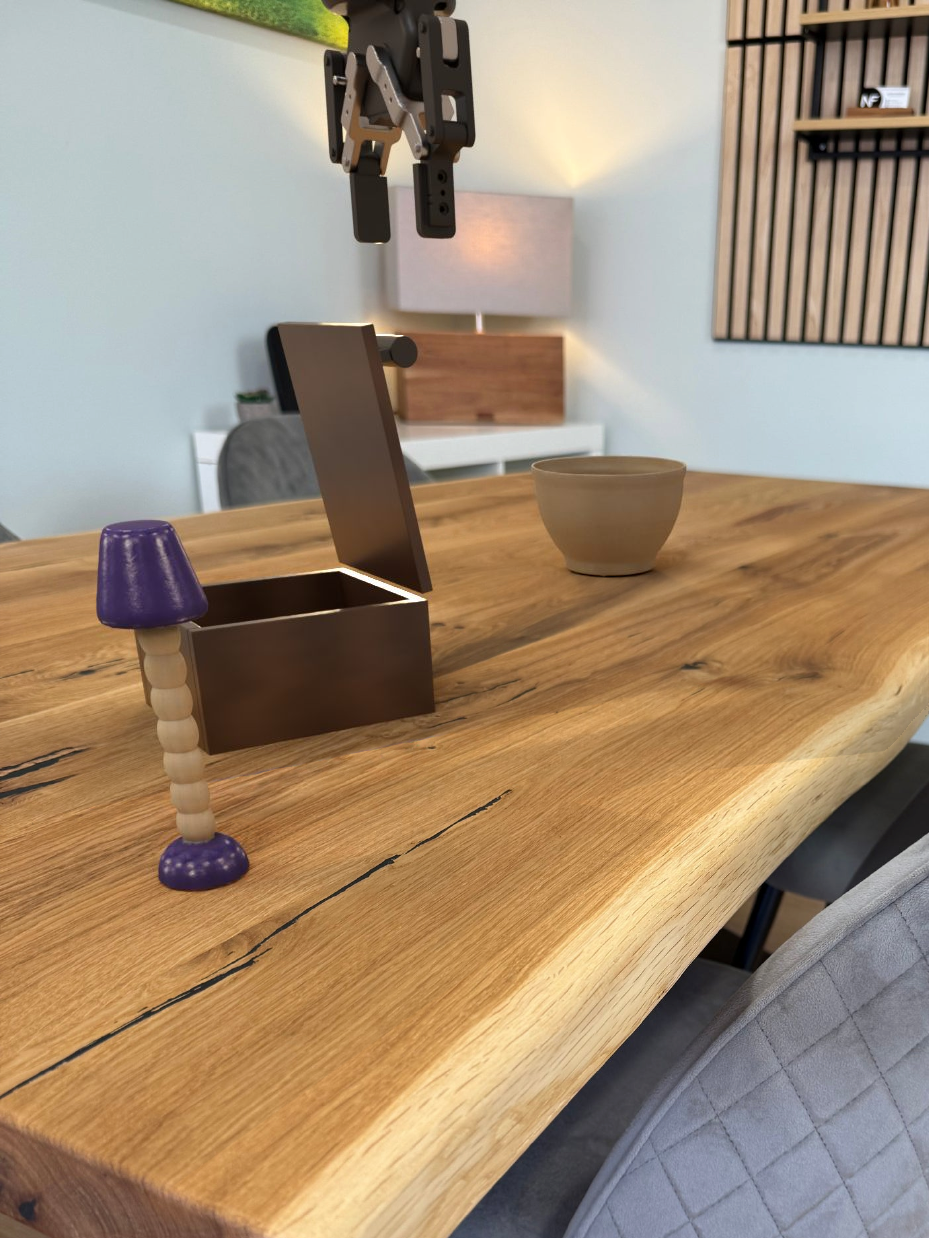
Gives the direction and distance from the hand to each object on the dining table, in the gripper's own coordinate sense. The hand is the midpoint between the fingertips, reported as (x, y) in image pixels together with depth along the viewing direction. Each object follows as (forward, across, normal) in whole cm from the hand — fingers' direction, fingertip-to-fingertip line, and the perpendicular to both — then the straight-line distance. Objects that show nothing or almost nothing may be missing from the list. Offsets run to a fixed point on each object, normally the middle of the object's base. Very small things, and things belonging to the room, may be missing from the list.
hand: (403, 241), depth 73 cm
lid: (+12, 0, -5) cm, 13 cm away
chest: (+29, 0, -10) cm, 31 cm away
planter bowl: (+29, -33, +39) cm, 59 cm away
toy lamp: (+29, +19, -22) cm, 41 cm away
